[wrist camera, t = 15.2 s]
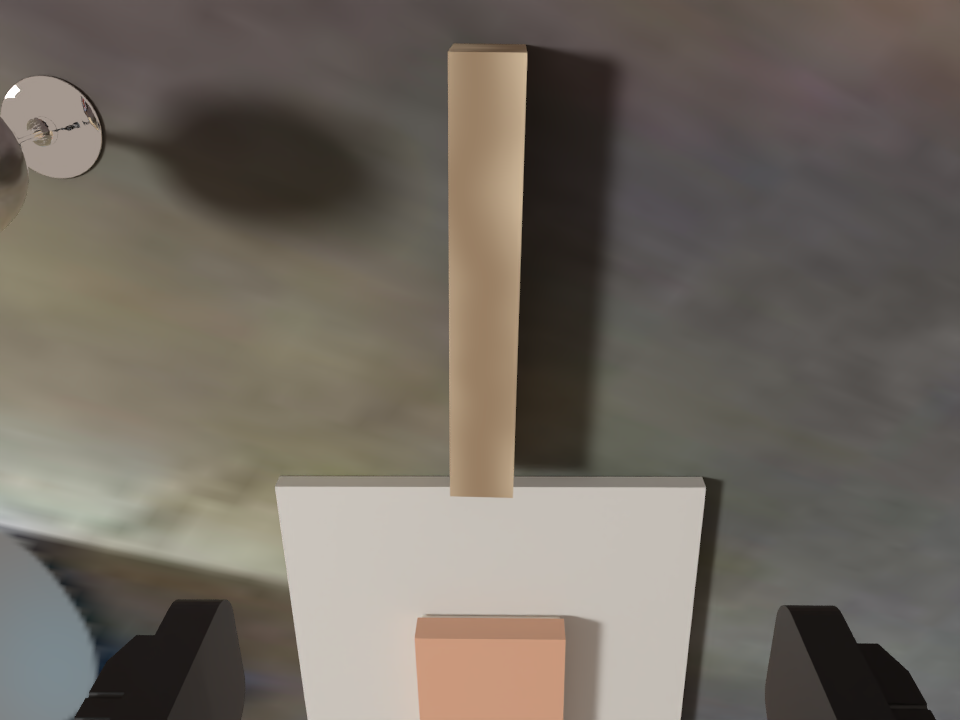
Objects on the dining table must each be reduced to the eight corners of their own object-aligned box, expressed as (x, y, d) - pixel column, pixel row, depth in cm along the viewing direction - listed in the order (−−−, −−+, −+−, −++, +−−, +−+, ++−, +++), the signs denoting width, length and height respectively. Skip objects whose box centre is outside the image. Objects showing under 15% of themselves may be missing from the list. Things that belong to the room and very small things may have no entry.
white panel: (702, 476, 44) (706, 487, 43) (672, 753, 52) (675, 767, 51) (279, 476, 45) (274, 486, 44) (317, 748, 53) (313, 762, 52)
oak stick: (525, 43, 36) (527, 52, 32) (512, 454, 44) (513, 497, 41) (454, 42, 36) (447, 51, 32) (454, 452, 44) (449, 496, 41)
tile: (565, 639, 45) (561, 773, 49) (563, 613, 47) (559, 744, 51) (414, 638, 45) (423, 771, 49) (418, 612, 47) (426, 742, 51)
